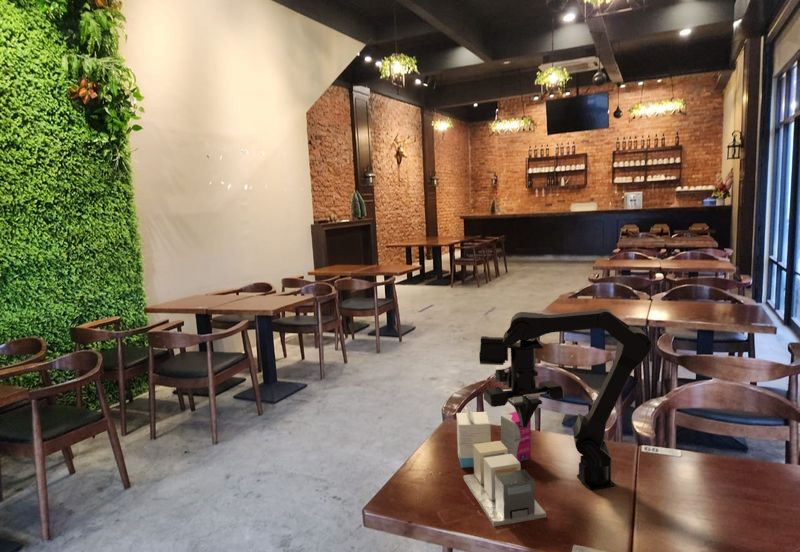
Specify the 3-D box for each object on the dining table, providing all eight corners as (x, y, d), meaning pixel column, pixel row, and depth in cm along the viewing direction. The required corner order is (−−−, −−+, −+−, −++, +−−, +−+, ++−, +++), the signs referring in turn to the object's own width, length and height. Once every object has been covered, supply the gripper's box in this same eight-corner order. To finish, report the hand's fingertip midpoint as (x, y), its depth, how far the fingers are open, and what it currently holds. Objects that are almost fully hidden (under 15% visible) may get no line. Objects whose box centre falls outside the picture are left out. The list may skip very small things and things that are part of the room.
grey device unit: (508, 472, 132) (508, 439, 131) (546, 517, 112) (545, 479, 111) (463, 479, 130) (462, 445, 128) (493, 526, 110) (492, 487, 109)
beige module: (500, 470, 130) (499, 440, 129) (508, 480, 126) (507, 449, 125) (474, 474, 129) (473, 444, 128) (481, 484, 124) (480, 453, 123)
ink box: (492, 466, 135) (491, 417, 133) (460, 468, 135) (458, 418, 133) (487, 451, 144) (486, 404, 142) (457, 452, 144) (455, 406, 142)
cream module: (512, 484, 123) (511, 453, 122) (521, 495, 119) (520, 463, 118) (484, 489, 122) (483, 457, 121) (492, 500, 117) (491, 468, 116)
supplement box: (514, 464, 136) (513, 422, 134) (500, 455, 141) (499, 415, 139) (531, 458, 138) (531, 417, 137) (517, 450, 143) (516, 410, 142)
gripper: (543, 352, 135) (543, 410, 137) (475, 359, 132) (476, 418, 134) (565, 364, 124) (565, 426, 127) (491, 373, 121) (492, 436, 123)
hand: (524, 426), depth 128 cm, fingers closed
